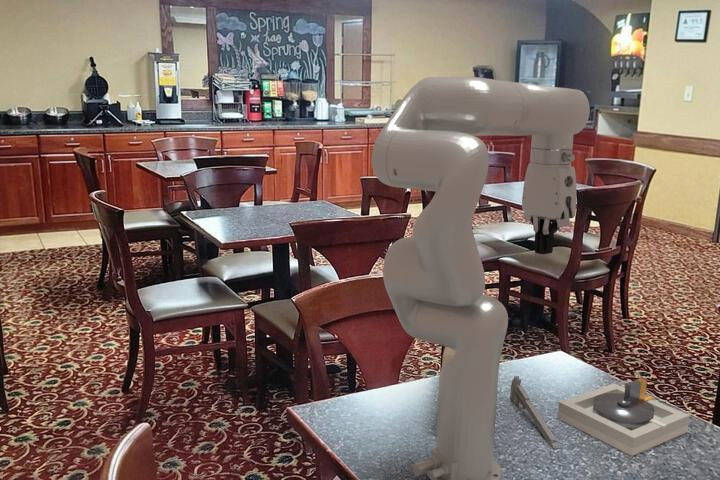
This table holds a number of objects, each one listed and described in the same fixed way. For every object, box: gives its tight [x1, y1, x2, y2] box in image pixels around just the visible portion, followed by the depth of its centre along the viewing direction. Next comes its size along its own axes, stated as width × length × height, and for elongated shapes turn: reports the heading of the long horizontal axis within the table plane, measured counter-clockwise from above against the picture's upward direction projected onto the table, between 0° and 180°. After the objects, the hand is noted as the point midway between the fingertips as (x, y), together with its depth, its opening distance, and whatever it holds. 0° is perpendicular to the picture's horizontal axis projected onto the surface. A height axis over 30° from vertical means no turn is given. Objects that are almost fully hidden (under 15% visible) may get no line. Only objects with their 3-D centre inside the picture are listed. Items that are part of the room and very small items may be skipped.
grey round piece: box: [593, 377, 654, 431], centre depth 134 cm, size 11×11×7 cm
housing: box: [557, 382, 691, 457], centre depth 134 cm, size 17×17×4 cm
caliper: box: [509, 375, 560, 450], centre depth 135 cm, size 20×1×6 cm, turn 11°
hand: (543, 252), depth 134 cm, fingers closed
